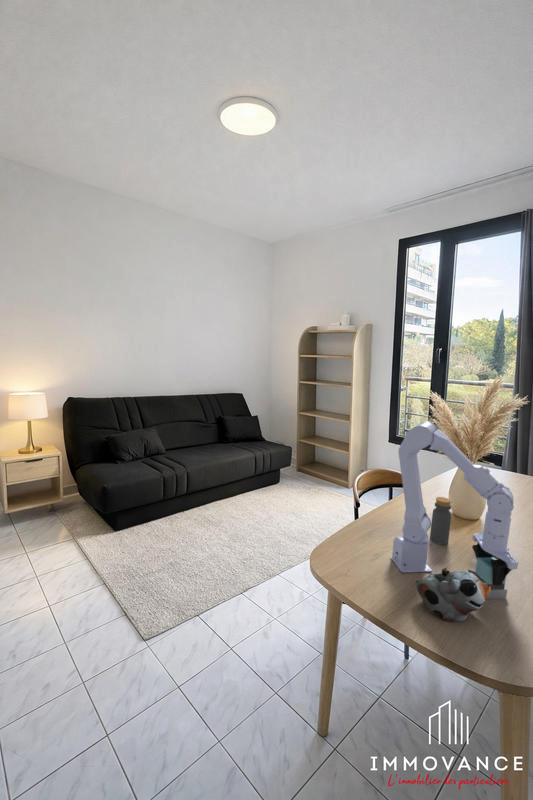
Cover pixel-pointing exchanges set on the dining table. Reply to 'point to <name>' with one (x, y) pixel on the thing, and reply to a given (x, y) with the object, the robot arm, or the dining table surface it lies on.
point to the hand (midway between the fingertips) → (489, 578)
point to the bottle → (441, 521)
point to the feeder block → (497, 593)
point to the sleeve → (486, 571)
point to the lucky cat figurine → (453, 594)
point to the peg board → (473, 562)
